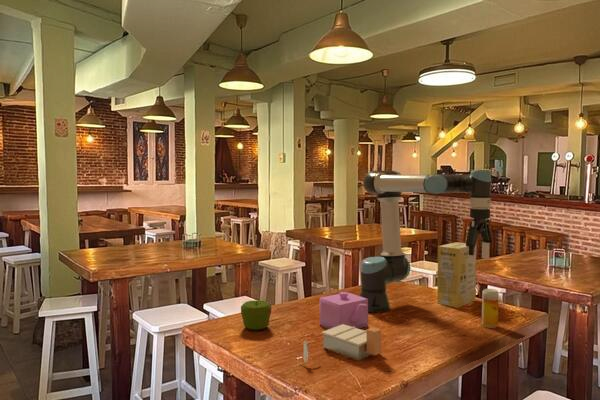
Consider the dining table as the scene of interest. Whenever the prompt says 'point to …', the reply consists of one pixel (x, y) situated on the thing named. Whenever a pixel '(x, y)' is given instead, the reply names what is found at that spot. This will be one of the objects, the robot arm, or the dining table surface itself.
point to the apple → (256, 314)
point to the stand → (306, 351)
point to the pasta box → (455, 275)
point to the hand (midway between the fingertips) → (478, 260)
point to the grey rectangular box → (345, 348)
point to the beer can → (490, 308)
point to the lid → (358, 337)
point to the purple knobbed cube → (343, 310)
